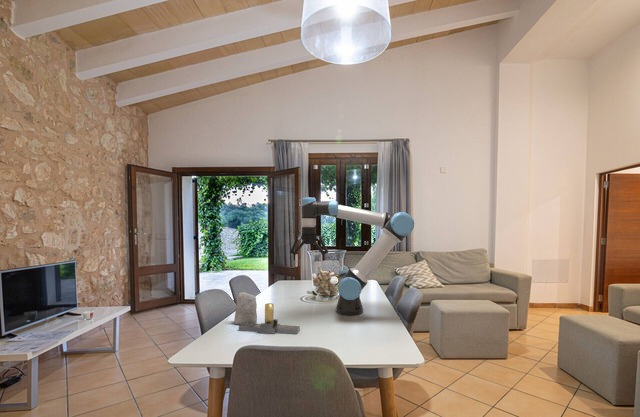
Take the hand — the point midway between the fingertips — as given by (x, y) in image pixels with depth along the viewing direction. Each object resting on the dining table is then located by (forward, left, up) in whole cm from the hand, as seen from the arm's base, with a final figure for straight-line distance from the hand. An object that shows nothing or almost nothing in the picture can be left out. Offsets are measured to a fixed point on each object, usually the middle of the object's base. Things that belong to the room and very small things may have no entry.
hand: (309, 266), depth 170 cm
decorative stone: (+29, +15, -27) cm, 42 cm away
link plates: (+14, +23, -27) cm, 38 cm away
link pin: (+14, +23, -27) cm, 38 cm away
